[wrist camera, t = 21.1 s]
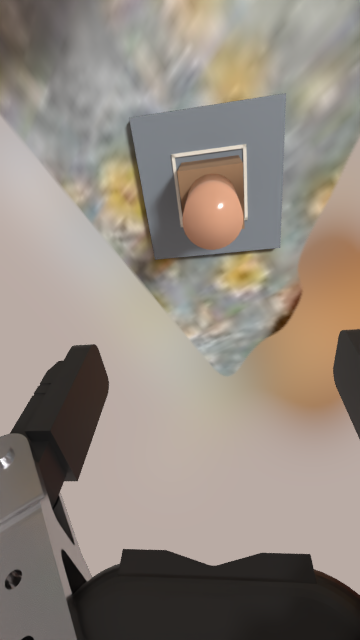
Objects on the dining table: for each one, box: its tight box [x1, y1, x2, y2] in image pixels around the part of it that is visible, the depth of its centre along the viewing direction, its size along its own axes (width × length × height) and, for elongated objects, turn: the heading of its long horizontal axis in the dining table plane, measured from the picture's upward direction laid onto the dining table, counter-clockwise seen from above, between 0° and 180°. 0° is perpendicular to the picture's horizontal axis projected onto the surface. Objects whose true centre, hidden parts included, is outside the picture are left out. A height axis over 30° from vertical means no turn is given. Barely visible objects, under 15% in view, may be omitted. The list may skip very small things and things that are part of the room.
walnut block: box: [177, 155, 245, 235], centre depth 31 cm, size 6×6×5 cm
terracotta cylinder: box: [182, 174, 243, 250], centre depth 26 cm, size 4×4×6 cm
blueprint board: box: [129, 93, 286, 260], centre depth 33 cm, size 14×14×1 cm
